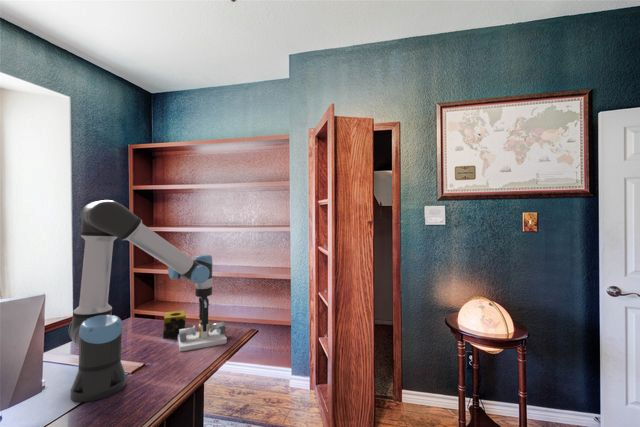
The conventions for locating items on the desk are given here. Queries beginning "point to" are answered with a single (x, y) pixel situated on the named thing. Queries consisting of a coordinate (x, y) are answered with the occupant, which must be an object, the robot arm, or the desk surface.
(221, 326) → the shaft out
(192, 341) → the shaft base
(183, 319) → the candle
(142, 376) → the desk surface
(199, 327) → the coupler
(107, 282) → the robot arm
